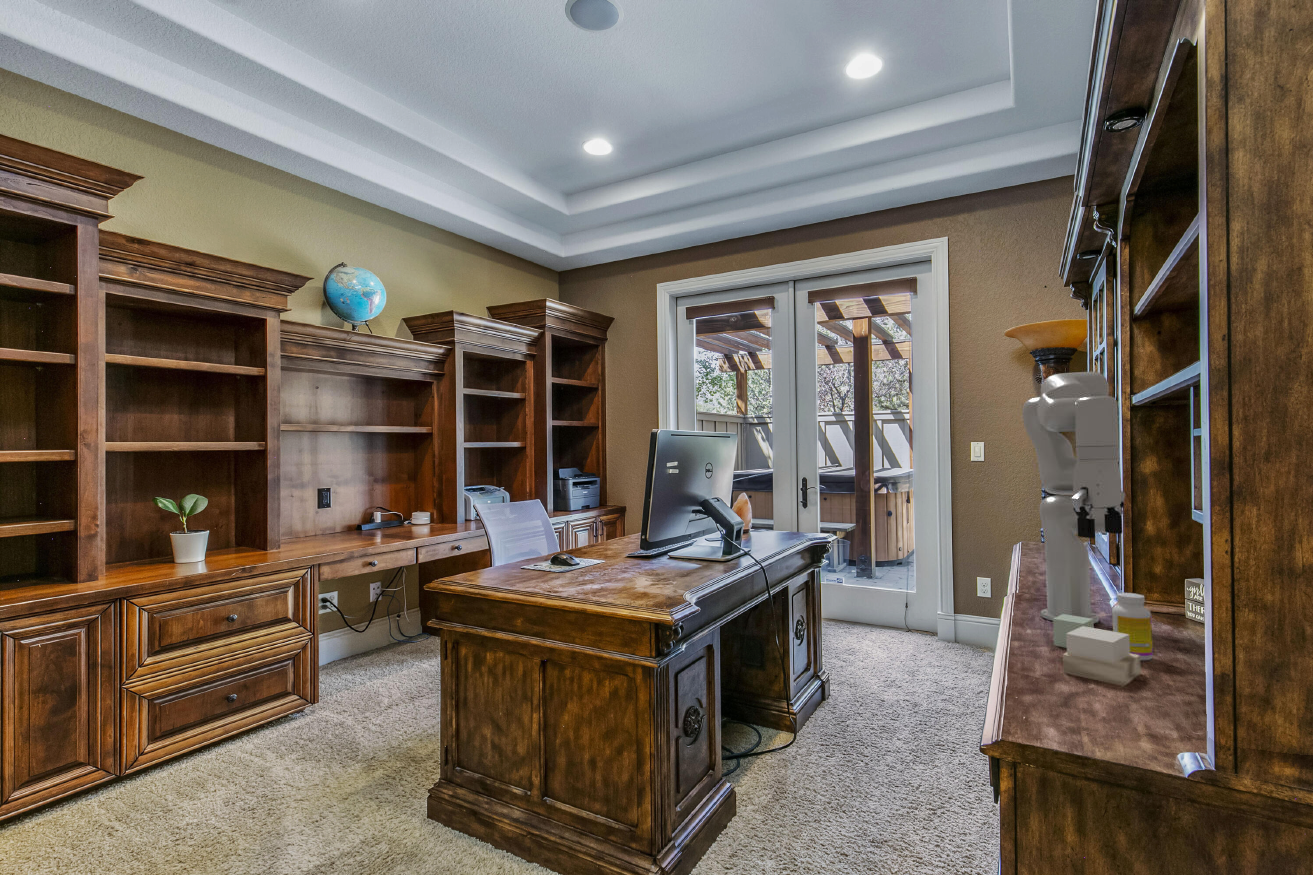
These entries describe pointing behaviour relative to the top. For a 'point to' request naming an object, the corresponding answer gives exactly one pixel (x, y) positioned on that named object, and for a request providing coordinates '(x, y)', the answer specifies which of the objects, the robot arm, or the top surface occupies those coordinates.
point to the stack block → (1068, 627)
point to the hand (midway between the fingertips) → (1100, 535)
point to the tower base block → (1103, 668)
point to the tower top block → (1098, 644)
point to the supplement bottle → (1134, 623)
